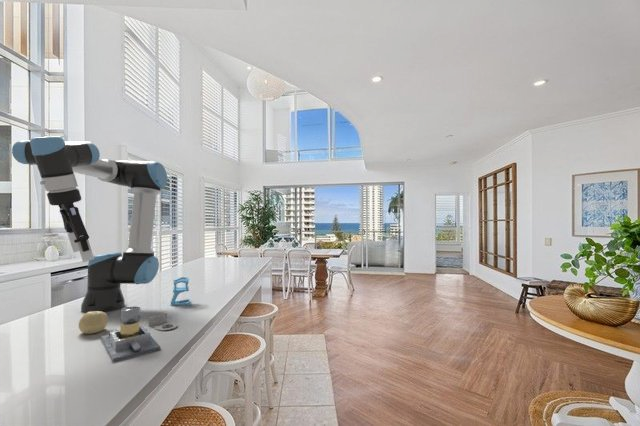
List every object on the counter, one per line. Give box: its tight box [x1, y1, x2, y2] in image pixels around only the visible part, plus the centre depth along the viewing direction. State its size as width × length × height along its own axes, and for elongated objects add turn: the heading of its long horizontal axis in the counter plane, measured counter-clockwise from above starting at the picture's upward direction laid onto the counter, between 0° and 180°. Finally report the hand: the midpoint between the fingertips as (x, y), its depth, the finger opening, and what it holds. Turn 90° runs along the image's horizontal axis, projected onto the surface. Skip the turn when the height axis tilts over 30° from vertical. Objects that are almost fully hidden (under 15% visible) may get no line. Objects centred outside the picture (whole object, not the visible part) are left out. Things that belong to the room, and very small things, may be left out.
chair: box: [169, 276, 191, 306], centre depth 138 cm, size 8×8×12 cm
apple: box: [78, 311, 108, 335], centre depth 103 cm, size 8×8×8 cm
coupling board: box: [100, 325, 161, 363], centre depth 94 cm, size 20×12×4 cm, turn 44°
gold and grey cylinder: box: [119, 306, 141, 339], centre depth 94 cm, size 5×5×10 cm
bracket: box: [148, 313, 178, 331], centre depth 109 cm, size 7×10×4 cm, turn 57°
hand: (83, 255), depth 96 cm, fingers open, 13 cm apart
